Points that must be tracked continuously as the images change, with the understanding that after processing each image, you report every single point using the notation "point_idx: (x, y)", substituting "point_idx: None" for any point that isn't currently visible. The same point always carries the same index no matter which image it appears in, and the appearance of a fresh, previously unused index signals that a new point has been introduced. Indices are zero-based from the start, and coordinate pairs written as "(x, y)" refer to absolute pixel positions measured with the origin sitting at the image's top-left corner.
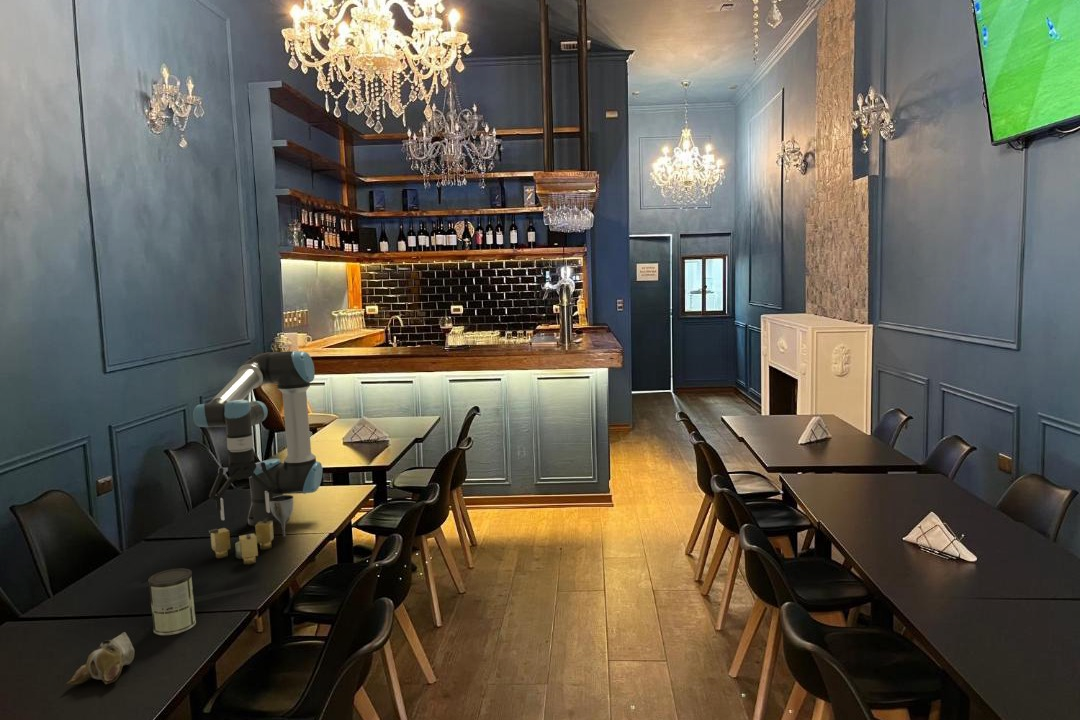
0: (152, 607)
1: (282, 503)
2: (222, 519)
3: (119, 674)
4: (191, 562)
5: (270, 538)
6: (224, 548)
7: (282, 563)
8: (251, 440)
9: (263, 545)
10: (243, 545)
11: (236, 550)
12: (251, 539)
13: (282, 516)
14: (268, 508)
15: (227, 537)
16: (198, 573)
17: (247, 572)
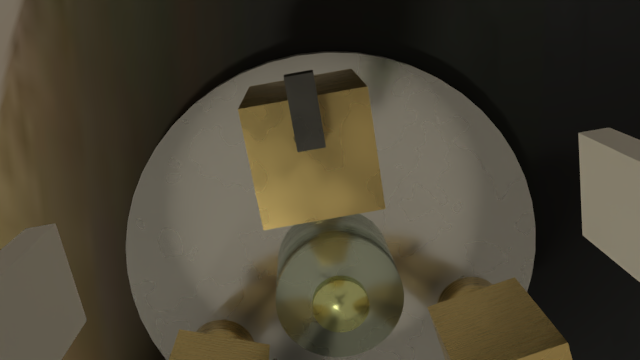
0: None
1: None
2: (609, 131)
3: None
4: (616, 328)
5: (174, 343)
6: (466, 299)
7: (113, 83)
8: None
9: (230, 334)
10: (346, 81)
11: (391, 257)
12: (281, 99)
13: None
14: (17, 248)
15: (461, 344)
16: (592, 129)
17: (320, 11)
